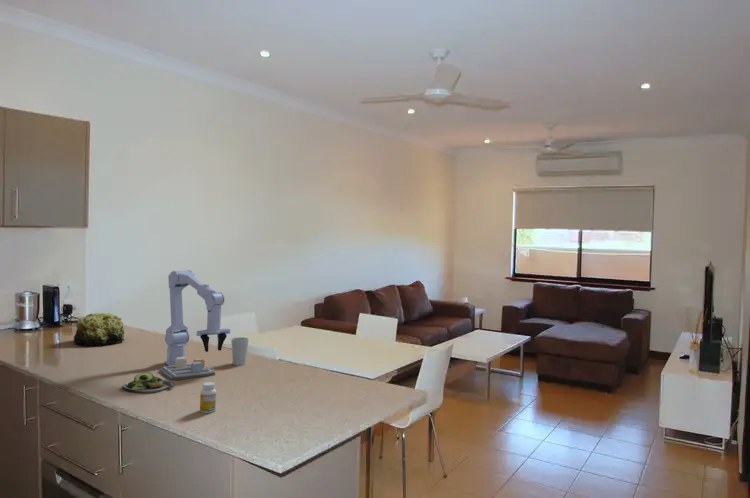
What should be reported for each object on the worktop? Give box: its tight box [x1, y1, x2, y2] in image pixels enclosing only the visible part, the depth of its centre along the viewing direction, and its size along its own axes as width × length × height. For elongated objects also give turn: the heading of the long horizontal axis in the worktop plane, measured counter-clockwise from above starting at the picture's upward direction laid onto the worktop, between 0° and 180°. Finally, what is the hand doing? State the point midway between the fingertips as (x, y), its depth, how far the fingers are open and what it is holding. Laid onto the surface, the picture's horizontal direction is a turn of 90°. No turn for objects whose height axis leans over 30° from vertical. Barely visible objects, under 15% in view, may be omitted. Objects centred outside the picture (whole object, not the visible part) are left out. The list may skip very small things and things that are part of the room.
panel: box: [158, 363, 216, 382], centre depth 246 cm, size 18×19×2 cm
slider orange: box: [192, 357, 206, 368], centre depth 248 cm, size 3×4×5 cm
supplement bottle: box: [199, 381, 217, 414], centre depth 197 cm, size 5×5×10 cm
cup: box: [231, 336, 250, 366], centre depth 267 cm, size 8×8×12 cm
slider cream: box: [175, 356, 188, 368], centre depth 249 cm, size 3×4×5 cm
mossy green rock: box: [73, 312, 125, 348], centre depth 301 cm, size 25×24×16 cm
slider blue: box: [190, 361, 203, 373], centre depth 242 cm, size 3×4×5 cm
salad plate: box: [121, 371, 175, 394], centre depth 223 cm, size 19×18×5 cm
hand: (213, 350), depth 246 cm, fingers open, 5 cm apart
